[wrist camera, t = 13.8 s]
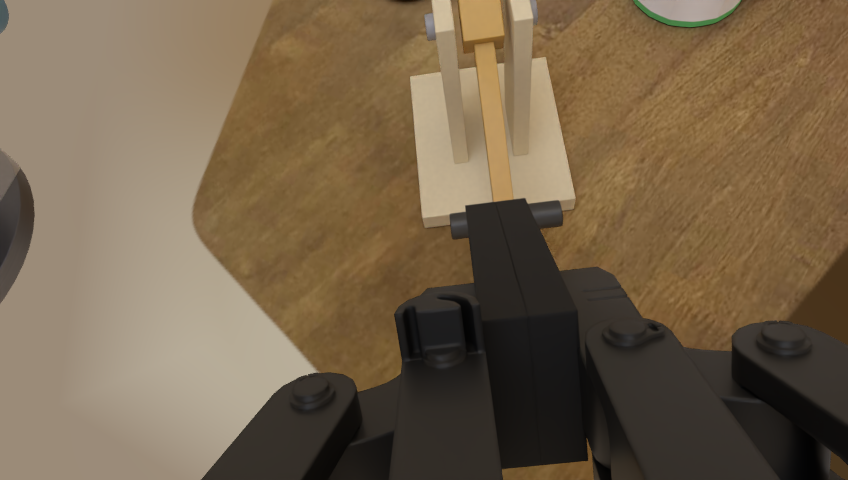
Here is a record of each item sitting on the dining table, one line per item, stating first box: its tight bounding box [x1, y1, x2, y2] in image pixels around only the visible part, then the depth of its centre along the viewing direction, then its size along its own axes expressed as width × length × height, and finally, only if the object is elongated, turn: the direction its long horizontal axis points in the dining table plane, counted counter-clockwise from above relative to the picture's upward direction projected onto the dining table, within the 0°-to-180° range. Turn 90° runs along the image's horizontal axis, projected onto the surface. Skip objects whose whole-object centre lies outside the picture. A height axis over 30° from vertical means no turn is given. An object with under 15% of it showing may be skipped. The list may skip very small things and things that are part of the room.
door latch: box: [410, 0, 576, 228], centre depth 40 cm, size 12×10×14 cm
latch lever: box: [449, 0, 563, 239], centre depth 35 cm, size 13×6×2 cm, turn 4°
